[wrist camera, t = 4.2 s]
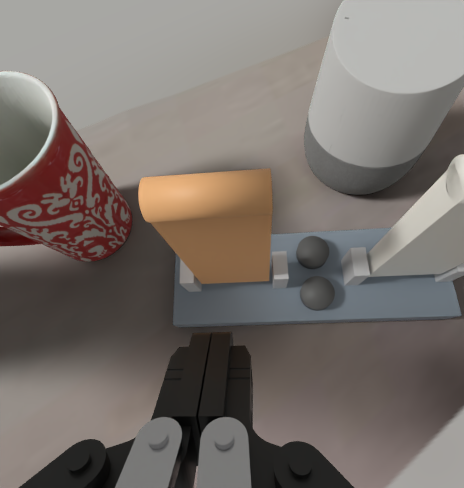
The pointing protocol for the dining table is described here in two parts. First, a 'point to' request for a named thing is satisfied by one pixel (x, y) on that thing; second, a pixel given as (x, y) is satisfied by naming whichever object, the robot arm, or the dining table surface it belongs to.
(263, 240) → the orange paddle
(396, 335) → the dining table surface
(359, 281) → the paddle holder
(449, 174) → the cream paddle
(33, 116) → the mug
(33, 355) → the dining table surface
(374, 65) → the smart speaker
